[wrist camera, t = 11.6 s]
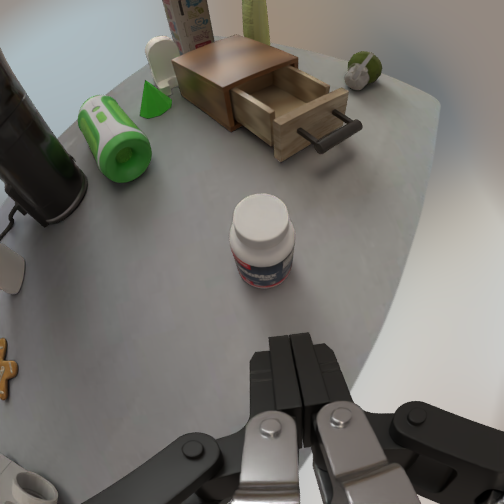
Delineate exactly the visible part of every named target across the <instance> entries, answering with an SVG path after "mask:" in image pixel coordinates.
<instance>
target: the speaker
mask: <svg viewBox="0 0 504 504" xmlns="http://www.w3.org/2000/svg"><path fill="white" fill-rule="evenodd" d="M78 125H79V128H80V130H81V131H82V132H83V135H84V137H85V139H86V141H87V143H88V145H89V147H90V149H91V151H92V153H93V155H94V157H95V159H96V161H97V165H98V168H99V170H100V171H101V172H102V173H103V174H104V175H105V176H106V177H107V178H109V179H110V180H112V181H114V182H118V183H125V182H129V181H132V180H134V179H136V178H137V177H139V176H140V175H141V174H142V173H143V172H144V171H145V170H146V169H147V167H148V165H149V163H150V161H151V156H152V151H151V147H150V143H149V141H148V138H147V137H146V135H145V134H144V133H143V132H142V131H141V130H139V128H138V127H137V126H136V125H135V124H134V123H133V122H132V120H131V119H130V118H129V117H128V116H127V115H126V114H125V112H124V111H123V110H122V109H121V108H120V106H119V105H118V103H117V102H116V101H115V100H114V99H113V98H111V97H109V96H106V95H96V96H93V97H91V98H89V99H87V100H86V101H85V102H84V103H83V105H82V106H81V108H80V110H79V114H78Z"/></svg>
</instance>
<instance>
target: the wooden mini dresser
mask: <svg viewBox="0 0 504 504" xmlns="http://www.w3.org/2000/svg"><path fill="white" fill-rule="evenodd" d="M171 62H172V65H173V68H174V72H175V75H176V78H177V82H178V85H179V88H180V92H181V95H182V96H183V97H184V98H186V99H187V100H188V101H190V102H191V103H193V104H194V105H195V106H197V107H198V108H199V109H201V110H202V111H204V112H205V113H206V114H208V115H209V116H210V117H212V118H213V119H214V120H216V121H217V122H218V123H220V124H221V125H222V126H224V127H225V128H226V129H227V130H229V131H230V132H232V131H234V130H236V129H238V128H239V127H241V126H243V125H242V124H240V123H239V122H238V121H236V120H235V119H233V113H232V107H231V101H230V95H229V90H230V89H232V88H234V87H236V86H238V85H241V84H243V83H245V82H248V81H250V80H252V79H255V78H257V77H259V76H262V75H264V74H267V73H269V72H272V71H274V70H277V69H280V68H282V67H285V66H288V65H290V66H292V67H295V68H297V69H298V57H296V56H294V55H291V54H289V53H287V52H284V51H282V50H279V49H277V48H274V47H272V46H269V45H266V44H264V43H261V42H258V41H255V40H253V39H250V38H247V37H244V36H240V35H237V34H236V35H233V36H230V37H227V38H224V39H221V40H218V41H216V42H213V43H210V44H208V45H205V46H202V47H200V48H197V49H195V50H192V51H190V52H188V53H185V54H183V55H181V56H179V57H176V58H174V59H172V60H171Z"/></svg>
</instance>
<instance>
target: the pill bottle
mask: <svg viewBox="0 0 504 504" xmlns="http://www.w3.org/2000/svg"><path fill="white" fill-rule="evenodd" d="M229 242H230V246H231V250H232V253H233V256H234V259H235V262H236V265H237V268H238V271H239V273H240V275H241V277H242V278H243V279H244V280H245V281H246V282H247V283H248V284H250V285H252V286H254V287H257V288H272V287H275V286H277V285H279V284H280V283H282V282H283V281H284V280H285V279H286V278H287V276H288V274H289V273H290V270H291V266H292V259H293V252H294V245H295V230H294V226H293V224H292V222H291V220H290V219H289V213H288V209H287V207H286V205H285V204H284V203H283V202H282V201H281V200H280V199H279V198H277V197H275V196H273V195H269V194H254V195H251V196H248V197H246V198H245V199H243V200H242V201H241V202H240V203H239V204H238V205H237V206H236V208H235V210H234V213H233V223H232V226H231V228H230V232H229Z"/></svg>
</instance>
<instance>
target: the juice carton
mask: <svg viewBox="0 0 504 504" xmlns="http://www.w3.org/2000/svg"><path fill="white" fill-rule="evenodd" d="M162 1H163V5H164V7H165V12H166V16H167V20H168V23H169V27H170V31H171V34H172V38H173V42H174V43H175V44H176V45H177V47H178V50H179V54H180V56H181V55H183V54H185V53H188V52H190V51H192V50H195V49H197V48H200V47H202V46H205V45H208V44H210V43H213V42H214V37H213V31H212V26H211V21H210V15H209V10H208V4H207V0H162Z"/></svg>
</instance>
